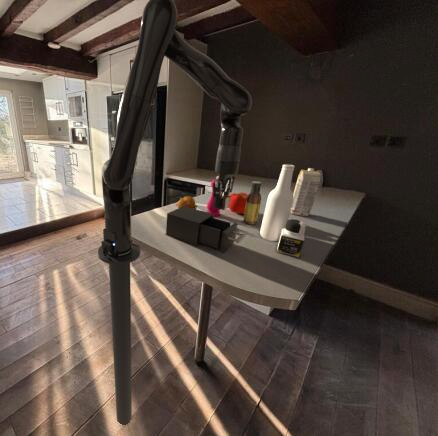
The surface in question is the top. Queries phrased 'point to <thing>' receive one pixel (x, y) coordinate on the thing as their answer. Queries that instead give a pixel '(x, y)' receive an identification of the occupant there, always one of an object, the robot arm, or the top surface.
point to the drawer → (218, 233)
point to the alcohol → (278, 206)
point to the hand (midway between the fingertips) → (220, 206)
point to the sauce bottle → (253, 204)
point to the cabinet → (186, 224)
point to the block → (223, 202)
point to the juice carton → (305, 192)
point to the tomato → (238, 202)
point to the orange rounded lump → (187, 202)
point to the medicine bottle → (292, 238)
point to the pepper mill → (210, 203)
